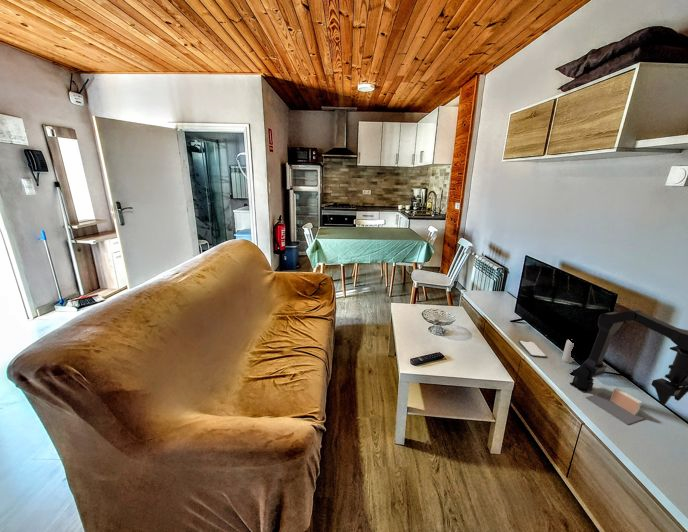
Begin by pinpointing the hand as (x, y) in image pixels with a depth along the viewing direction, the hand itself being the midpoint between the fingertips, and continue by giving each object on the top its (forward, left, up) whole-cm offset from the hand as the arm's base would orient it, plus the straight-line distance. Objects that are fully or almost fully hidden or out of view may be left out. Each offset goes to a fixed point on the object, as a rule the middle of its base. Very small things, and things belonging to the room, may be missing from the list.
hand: (669, 402), depth 112 cm
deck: (-13, +4, -14) cm, 20 cm away
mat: (-14, 0, -15) cm, 21 cm away
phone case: (-60, +7, -15) cm, 63 cm away
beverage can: (-46, +16, -15) cm, 51 cm away
